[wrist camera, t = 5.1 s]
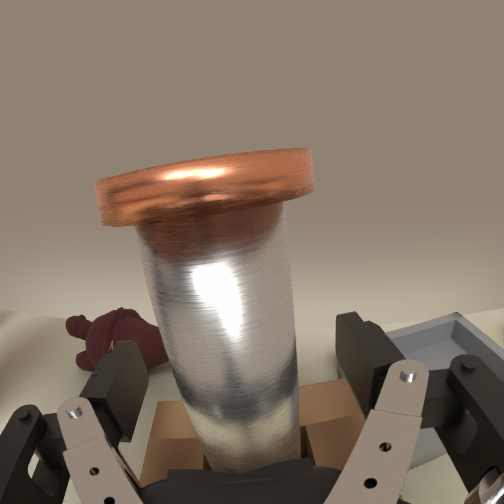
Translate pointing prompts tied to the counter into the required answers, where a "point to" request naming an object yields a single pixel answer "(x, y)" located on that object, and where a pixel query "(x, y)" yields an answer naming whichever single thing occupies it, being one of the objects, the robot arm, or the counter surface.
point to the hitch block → (311, 432)
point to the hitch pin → (222, 293)
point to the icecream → (116, 337)
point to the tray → (441, 362)
